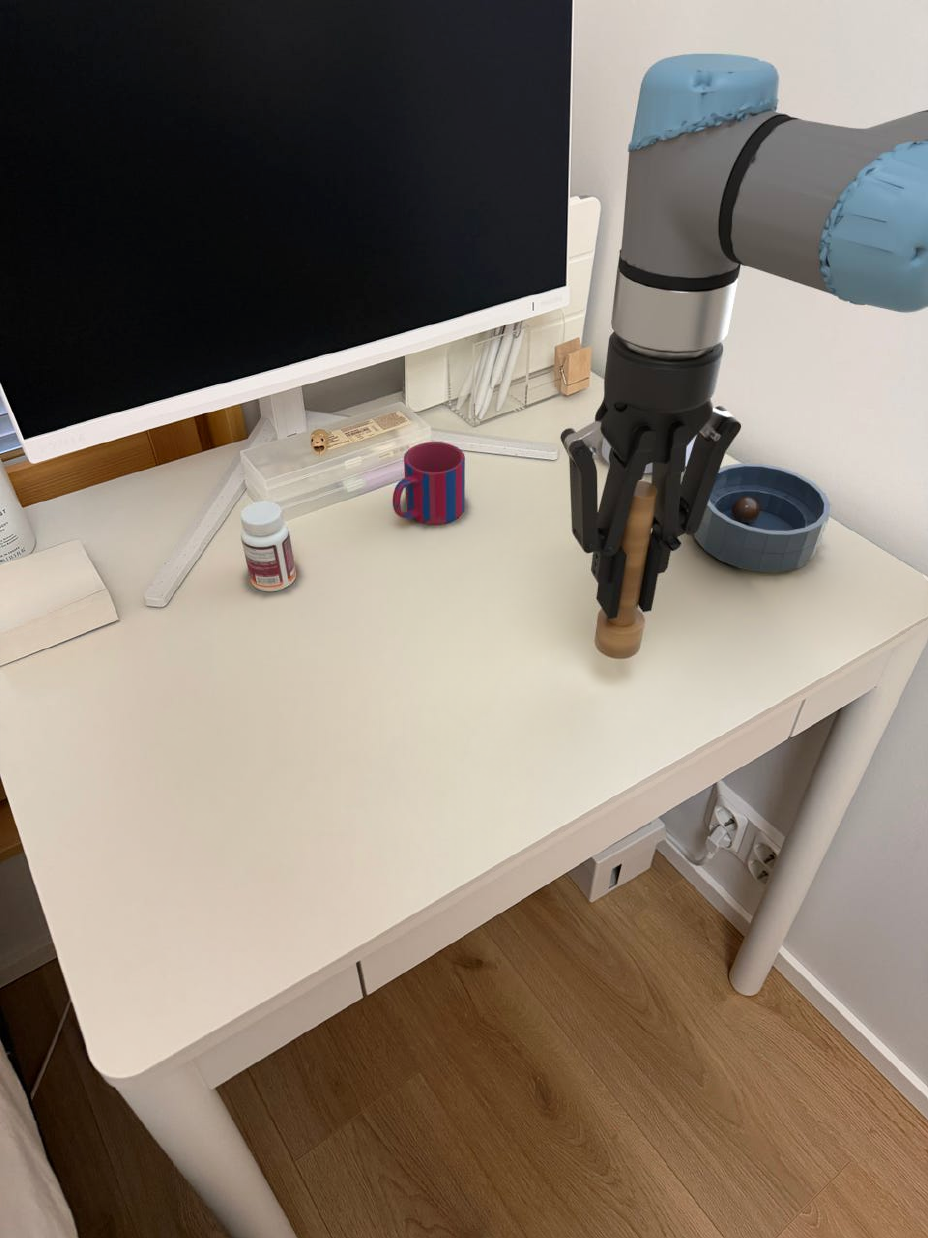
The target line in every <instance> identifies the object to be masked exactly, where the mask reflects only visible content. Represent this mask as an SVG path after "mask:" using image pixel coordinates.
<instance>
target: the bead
mask: <svg viewBox="0 0 928 1238" xmlns="http://www.w3.org/2000/svg"><path fill="white" fill-rule="evenodd" d="M759 513H760V506H759V504H758V502H757V501H756V500H755V499H754V498H752V497H747V496H746V497H741V498H739V499H737V500H736V501H735V502H734V504H733V506H732V515H733V517H734V519H735V520H736V521H738V522H740V523H744V524H747V523H751V522H753V521H754V520H756V519H757V517H758V516H759Z"/></svg>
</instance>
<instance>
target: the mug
mask: <svg viewBox="0 0 928 1238" xmlns="http://www.w3.org/2000/svg"><path fill="white" fill-rule="evenodd" d="M465 466H466V456H465V453H464V452H463V451H462V450H461V449H460V448H459V447H458V446H456V445H454V444H451V443H449V442H443V441H442V442H441V441H426V442H421V443H418V444H416V445H414V446H411V447H410V448H409V449H407V450H406V452H405V453H404V455H403V469H404V478H402V479H401V480H400V481H398V483H397V484H396V485H395V487H394V490H393V493H392V508H393V511H394V513H395V514H396V515H397V516H398V517H400V518H402V519H406V520H411V519H412V520H414V521H416V522H418V523H421V524H423V525H424V524H425V525H429V526H430V525H431V526H433V525H434V526H439V525H440V526H441V525H445V524H449V523H452V522H454V521H456V520H458V519H459V518H460V517H461V516H462V515H463V514H464V511H465V486H466V485H465V484H466V483H465V481H466V480H465V478H466V477H465V475H466V473H465V472H466V467H465ZM404 490H405V508H406V509H405V510H406V512H403V510H402V506H401V505H402V504H401V499H402V495H403V492H404Z"/></svg>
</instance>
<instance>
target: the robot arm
mask: <svg viewBox="0 0 928 1238" xmlns="http://www.w3.org/2000/svg"><path fill="white" fill-rule="evenodd" d="M779 85H780V75H779V72H778V69H777V68H776V66H774V65H773V64H772V63H771V62H768V61H765V60H760V59H758V58H756V57H752V56H747V55H739V54H731V53H728V54H727V53H688V54H687V53H686V54H685V53H684V54H680V55H673V56H668V57H665V58H662V59H660V60H658V61H656V62H655V63H654V64H651V66H650V67H649V68H648V69H647V71H646V72H645V73H644V75H643V77H642V80H641V83H640V88H639V93H638V100H637V106H636V111H635V117H634V123H633V127H632V128H633V129H632V136H631V140H630V142H629V144H628V148H627V152H628V162H627V175H626V188H625V200H624V212H623V224H622V225H623V226H622V238H621V247H620V249H619V255H618V263H617V268H616V275H615V276H616V277H615V284H614V294H613V302H612V303H613V304H612V312H611V320H610V325H611V329H612V330H613V331H612V332H611V334H610V335H609V338H608V344H607V345H608V346H607V352H606V360H605V361H606V362H605V371H604V378H603V379H604V380H603V399H602V401H601V403H600V405H599V407H598V408H597V411H596V412H595V415H594V421H593V422H592V423H589V424H587V425H586V426H584V427H583V428H581V429H579V430H578V431H576V430H575V429H574V428H573V427H572V428H571V427H569V428H565V429H564V430H563V431H562V432H561V433H560V441H561V443H562V445H563V447H564V450H565V452H566V454H567V456H568V461H569V462H568V464H569V466H568V467H569V486H570V487H569V488H570V514H571V515H570V516H571V533H572V535H573V537H574V538H575V540H576V541H577V543H578V544H579V546H580V548H581V549H582V551H583V552H584V553H585V554H592V558H591V566H590V572H591V574H592V577H593V578H594V579H595V581H596V583H597V589H596V590H597V591H596V598H595V600H596V601H597V602H598V604H599V606H600V608H601V609H603V611H604V612H605V614H606V616H607V617H608V619H612V618H617V615H618V608H619V602H620V595H621V589H622V583H623V576H624V570H625V564H626V557H627V555H626V553H625V552H624V550H623V549H622V547H621V546H620V543H621V539H622V536H623V532H624V528H625V525H626V521H627V518H628V514H629V511H630V507H631V503H632V500H633V496H634V493H635V489H636V486H637V482H638V481H643V478H644V475H645V473H644V471H645V468H646V465H647V464H650V463H652V473H651V483H652V484H653V485H655V486H656V487H657V489H658V495H657V500H656V506H655V512H654V518H653V523H652V529H651V535H650V540H649V546H648V552H647V557H646V563H645V569H644V574H643V580H642V586H641V591H640V597H639V603H638V608H639V610H640V611H641V612H642V613H648V612H652V609H653V603H654V600H655V593H656V587H657V583H658V577H659V574H664V573H665V572H666V571H667V569H668V567H669V561H670V558H671V552H675V551H677V550H678V549H680V548H681V545H682V541H681V540H680V539H679V538H678V537H680V536H682V535H686V536H694V534H695V533H696V532H697V531H698V529H699V527H700V524H701V521H702V518H703V515H704V513H705V510H706V507H707V504H708V501H709V498H710V495H711V492H712V489H713V487H714V484H715V481H716V478H717V475H718V472H719V469H720V468H721V467H722V463H723V461H724V458H725V455H726V451H728V449H729V448H730V446H731V444H732V443H733V441H734V440H735V438H737V436H738V434H739V433H740V431H741V429H742V424H741V422H739V420H737V418H735V416H733V414H731V413H730V412H729V411H728V410H727V409H726V408H725V407H724V406H722V405H719V406H716V407H714V404H713V402H712V400H711V398H713V395H714V394H715V391H716V387H717V382H718V379H719V373H720V369H721V363H722V358H723V354H724V345H723V341H724V340H725V338H726V337H727V335H728V333H729V329H730V323H731V318H732V312H733V307H734V303H735V302H734V301H735V297H736V291H737V286H738V281H739V275H740V271H741V270H740V269H741V266H744V267H749V268H751V269H755V270H758V271H761V272H764V273H767V274H769V275H773V276H775V277H779V278H782V279H785V280H788V281H791V282H794V283H798V284H800V285H803V286H806V287H809V288H812V289H815V290H819V291H821V292H824V293H827V294H830V295H833V296H835V297H837V298H838V299H839V300H841V301H843V302H847V303H848V302H849V304H852V305H856V306H871V307H874V308H879V309H884V310H887V311H893V312H898V313H905V314H909V313H915V312H919V311H922V310H924V309H926V308H928V109H926V110H921V111H918V112H917V111H916V112H913V113H911V114H908V115H905V116H901V117H898V118H895V119H892V120H889V121H886V122H883V123H880V124H876V125H873V126H870V127H866V128H857V127H849V126H842V125H836V124H830V123H823V122H817V121H813V120H806V119H802V118H799V117H795V116H790V115H788V114H787V113H781V112H777V110H778V103H779V102H780V99H779V98H778V95H779ZM696 435H697V436H696ZM695 436H696V438H695V441H694V444H693V447H692V450H691V454H690V457H689V460H688V463H687V466H685V464H686V450H687V446H688V444H689V443H690V442H691V441H692V440H693V439H694V437H695ZM603 438H605V439H606V440H607V442H608V443H609V445H610V446H611V449H610V453H609V462H610V463H609V467H608V471H607V474H606V479H605V483H604V486H603V490H602V495H601V499H600V503H599V502H598V501H599V500H598V470H597V464H596V463H595V461H597V460H598V459H599V458H600V454H599V453H600V445H601V442H602V441H603ZM682 473H683V475H682ZM598 503H599V504H598Z"/></svg>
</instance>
